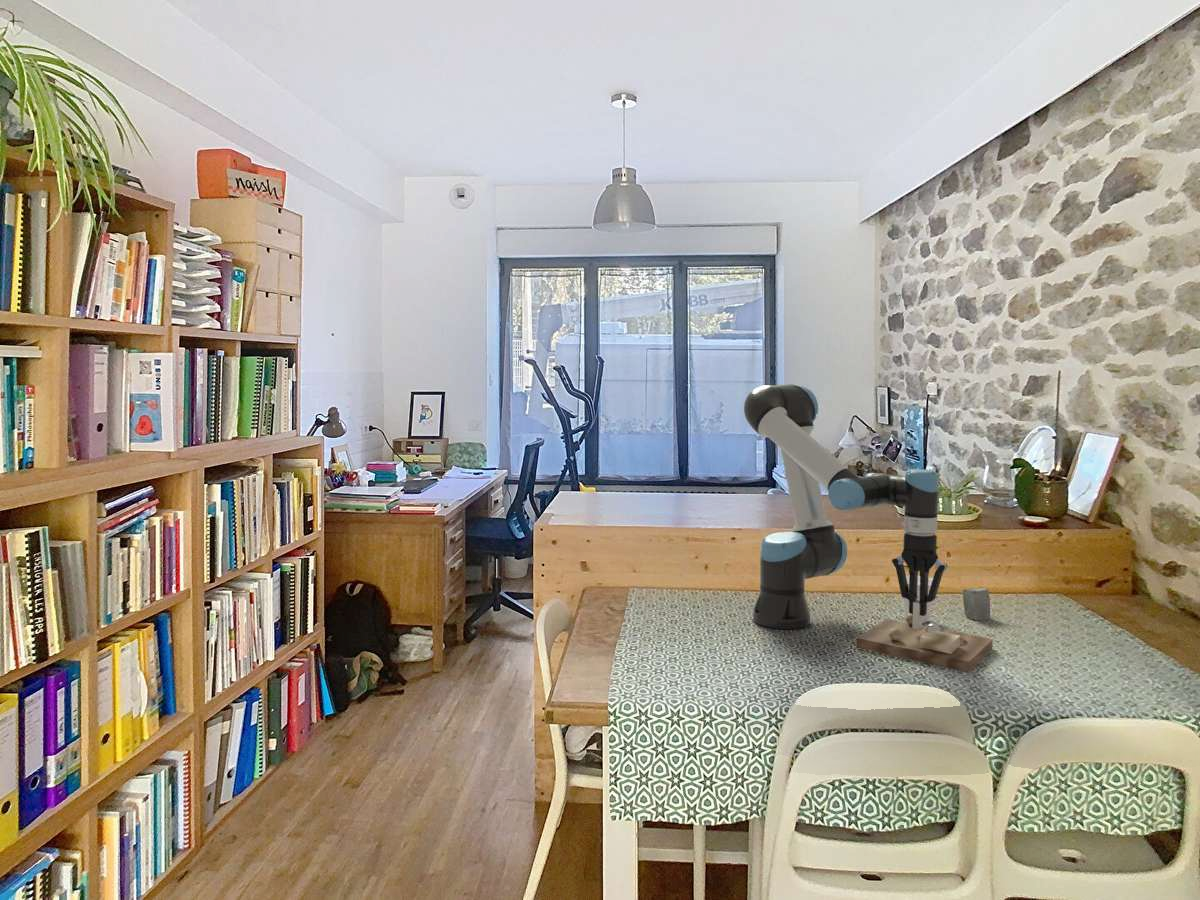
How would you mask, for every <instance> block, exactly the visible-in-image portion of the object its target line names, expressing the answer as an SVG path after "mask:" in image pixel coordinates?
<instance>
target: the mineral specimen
mask: <svg viewBox="0 0 1200 900" xmlns="http://www.w3.org/2000/svg"><path fill="white" fill-rule="evenodd" d="M990 600H991V598H990V591H989V588H986V587H985V588H984V587H983V588H982V587H978V588H977V587H976V588H975V587H974V588H963V589H962V602H963V607H964V609H963V610H964V617H967V618H969V619H971V620H972V621H975V622H980V621H984V620H990V619H991V601H990Z"/></svg>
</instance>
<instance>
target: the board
mask: <svg viewBox="0 0 1200 900" xmlns="http://www.w3.org/2000/svg"><path fill="white" fill-rule="evenodd" d="M926 626H927V625H922V627H921V628H920V629H914V628H912V625H910V624H908V623H907V621H906V622H905V621H900V620H895V619H891V618H885V619H883V620H882V621H880V622H878V624H876V625H874V626H873V627H871V628H870V629H868V630H867V631H865V632H863V633H862V634H861V635H859V636H857V637H856V647H855V648H856V649H859V648H861V649H860V650H864V649H866V650H865V651H868V650H871V651H870V652H873V651H875V652H874V653H877V652H879V653H878V654H882V655H883V654H884V655H887V656H892V657H896V658H900V659H905V660H909V661H910V660H911V661H915V662H919V663H924V664H928V665H933V666H937V667H943V668H947V669H951V670H956V671H960V672H964V673H970V672H971V671H972V670H973V669H974V668H975V667H976V666H977V665H978V664H979V663H980V662H981V661H982V660H983V659H984V658H985V657H986V656H987V655H988V654H989V653H990V652H991V651H992V650H993V638H989V637H983V636H978V635H973V634H969V633H968V634H967V633H964V632H959V631H952V630H947V629H942V628H940V630H941V632H944V633H949V634H954V635H959V636H960V646H959V647H958V648H957V649H956V650H955V651H954V652H953V653H951V654H949V653H944V652H939V651H935V650H930V649H925V648H920V637H921V636H922V635H924V634H925V633H926V632H925V629H926ZM893 628H897V629H899V630H900V631H901V632H902V638H901V639H900V640H898V641H894V640H892V639H891V638H890V636H889V632H890V630H891V629H893Z"/></svg>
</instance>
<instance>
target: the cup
mask: <svg viewBox="0 0 1200 900" xmlns="http://www.w3.org/2000/svg"><path fill="white" fill-rule="evenodd" d="M909 576H910V575H906V578H907V583H908V588H909ZM932 581H933V578H932V577H931V578H930V577H928V594H929V591H930V587H931V584H932ZM917 597H918V598H917V599H916V600H919V599H920V575H918V582H917ZM901 600H902V601H901V602H902V606H903V608H902V609H903V615H904V619H905V620H906V617H907V615H908V614H910V613H909V600H908V599H906V598H903V597H902V596H901ZM933 604H934V600H933V601H931V602H927V613H926V615H925V616H922V624H924V623H925V624H926V623H928V621H929V620H930V618H931V612H932V606H933Z"/></svg>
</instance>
